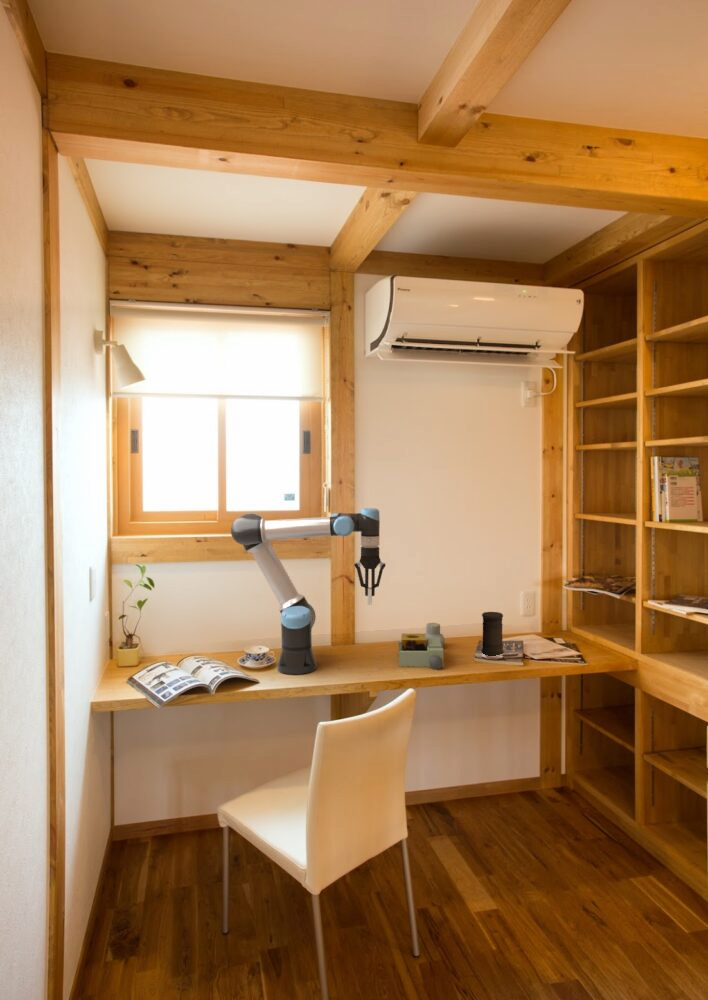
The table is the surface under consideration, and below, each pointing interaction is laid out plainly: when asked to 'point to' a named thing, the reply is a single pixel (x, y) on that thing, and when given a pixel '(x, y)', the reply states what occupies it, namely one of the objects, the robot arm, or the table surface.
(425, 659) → the green toy truck
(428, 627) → the air freshener
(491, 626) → the container
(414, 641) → the olive cube with hole
